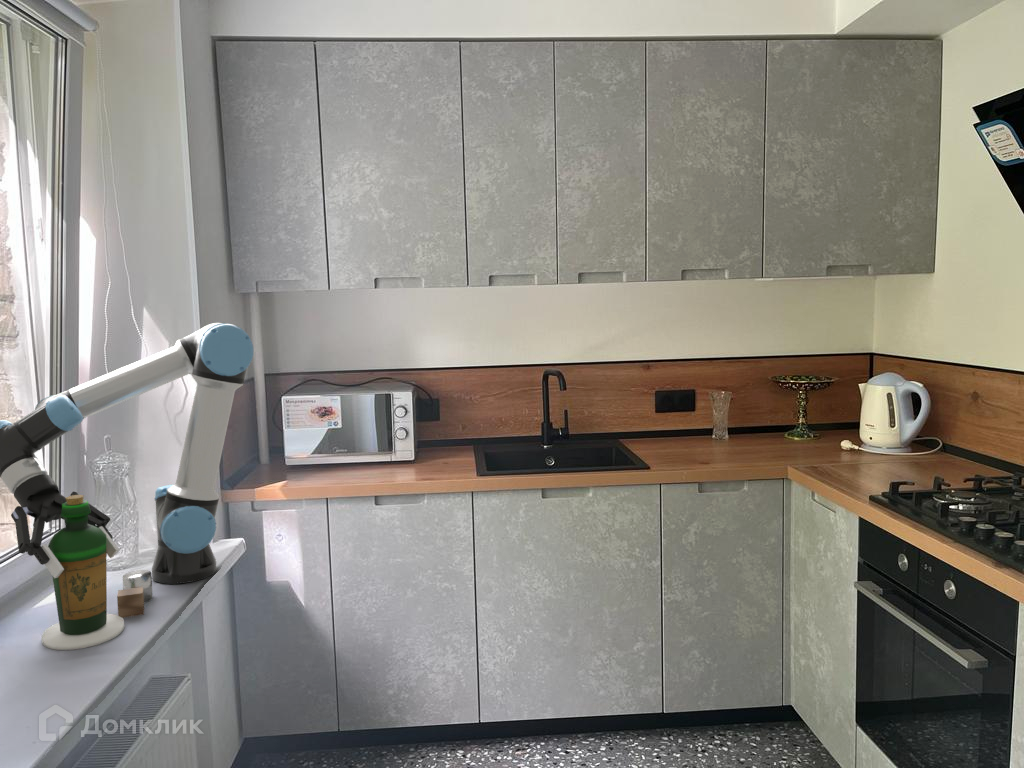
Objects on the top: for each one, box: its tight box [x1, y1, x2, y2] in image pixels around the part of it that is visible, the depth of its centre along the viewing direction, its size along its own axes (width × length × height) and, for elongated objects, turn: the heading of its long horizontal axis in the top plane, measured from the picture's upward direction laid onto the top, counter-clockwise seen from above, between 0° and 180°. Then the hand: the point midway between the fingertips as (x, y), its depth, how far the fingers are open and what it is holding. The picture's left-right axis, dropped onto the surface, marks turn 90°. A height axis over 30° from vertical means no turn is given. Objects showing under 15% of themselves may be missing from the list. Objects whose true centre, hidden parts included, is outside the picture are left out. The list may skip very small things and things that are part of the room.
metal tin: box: [122, 569, 154, 604], centre depth 179 cm, size 6×6×6 cm
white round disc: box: [41, 613, 125, 651], centre depth 161 cm, size 15×15×1 cm
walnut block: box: [116, 587, 145, 619], centre depth 172 cm, size 5×4×5 cm
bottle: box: [47, 494, 108, 635], centre depth 160 cm, size 11×11×28 cm
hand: (88, 563), depth 159 cm, fingers open, 12 cm apart
